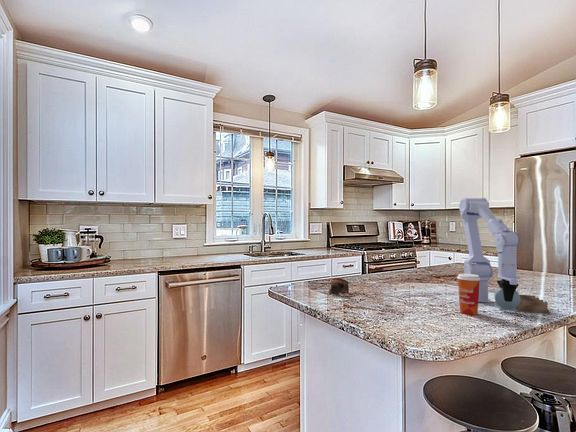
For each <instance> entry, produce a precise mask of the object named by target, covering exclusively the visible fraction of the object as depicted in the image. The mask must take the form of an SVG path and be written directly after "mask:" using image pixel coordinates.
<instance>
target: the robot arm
mask: <svg viewBox="0 0 576 432" xmlns="http://www.w3.org/2000/svg"><path fill="white" fill-rule="evenodd" d="M458 204H459V205H458V208H459V214H460V218H461V219H462V221H463V226H464V233H465V238H466V245H467V250H468V256H469V257H468V258H466V259H465V260H464V262H463V274H474V275H479V278H480V279H481V280H480V282H479V300H478V303H488V304H489V303H490V304H491V303H492V301H491V300H490V298H489V281H490V280H491V278H492V277H493V275H494V269H493V267H492V265H491V262H490V259H488V258H487V257H485V256H484V254H483V253H484V251H483V247H482V242H481V237H480V236H481V235H480V232H479V225H478V220H479V219H481V218H482V220H484V222H486V228H487V230H488V231H489V232H490V233H491V234H492V236H493V237H494V239H493V240H494V242H493V243H494V245H495V248H496V249H495V250H496V252H497V261H498V262H497V264H498V265H497V266H498V267H497V271H498V272H497V280H496V283H497V285H498V286H499V289H500V288H502V289H503V294H504V300H505V301H507V302H512V300H513V296H514V292H515V290H516V291H517V288H518V287H519V283H518V279H519V280H521V276H518V275H517V273H518V272H517V248H518V247H519V246H520V244H521V236H520V235H519V233H518V232H517V231H513V230H511V229H510V228H509V227H508V225H506V224H505V223H504V221H503V220H502V219H500V218H497V217H496V216H495V214H493V212H492V210H491V208H490V202H489V201H488V199H487V198H485V197H479V198H478V197H477V198H476V197H471V198H470V197H463V198H462V199H461V200H460V203H458ZM498 279H500V280H498Z"/></svg>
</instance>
